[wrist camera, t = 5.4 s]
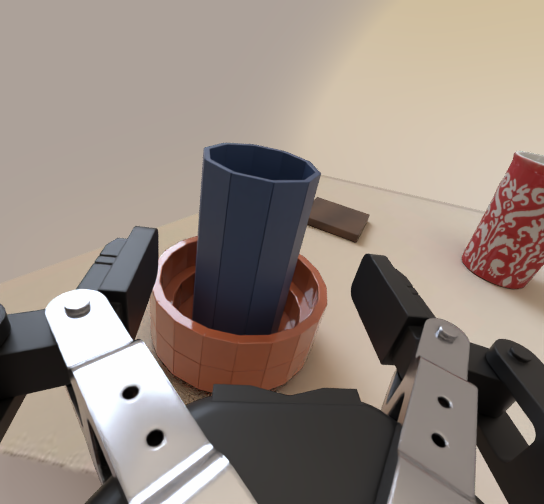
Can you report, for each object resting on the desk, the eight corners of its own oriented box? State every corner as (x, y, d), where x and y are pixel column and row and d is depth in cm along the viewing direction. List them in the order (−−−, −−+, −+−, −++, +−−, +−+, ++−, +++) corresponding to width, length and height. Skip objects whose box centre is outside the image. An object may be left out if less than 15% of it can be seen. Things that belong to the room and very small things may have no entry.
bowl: (112, 346, 20) (105, 284, 17) (212, 266, 29) (218, 218, 26) (269, 438, 17) (288, 381, 14) (326, 317, 26) (344, 269, 23)
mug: (549, 305, 34) (647, 189, 27) (463, 279, 36) (537, 163, 29) (507, 251, 45) (570, 158, 38) (442, 233, 46) (492, 140, 39)
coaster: (297, 220, 41) (298, 213, 40) (315, 203, 47) (317, 196, 47) (356, 242, 39) (359, 235, 38) (367, 220, 45) (369, 214, 45)
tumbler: (172, 333, 21) (176, 154, 15) (223, 286, 26) (242, 138, 20) (250, 375, 19) (293, 194, 13) (288, 316, 24) (332, 165, 18)
